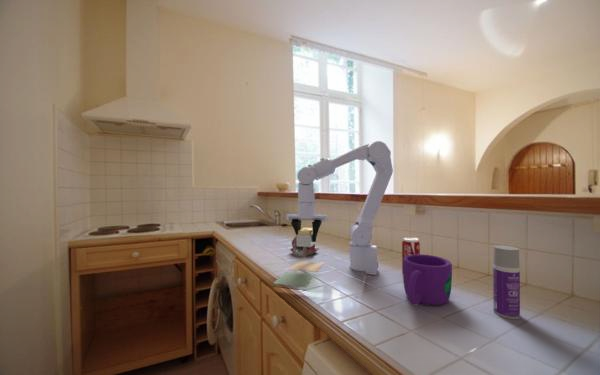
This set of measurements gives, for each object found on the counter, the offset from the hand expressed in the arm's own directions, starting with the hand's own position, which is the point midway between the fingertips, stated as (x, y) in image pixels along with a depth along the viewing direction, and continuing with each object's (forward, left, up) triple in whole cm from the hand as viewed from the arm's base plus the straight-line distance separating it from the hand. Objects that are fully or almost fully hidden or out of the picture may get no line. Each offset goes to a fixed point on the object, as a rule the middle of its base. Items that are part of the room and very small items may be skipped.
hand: (306, 241), depth 90 cm
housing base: (0, 0, -1) cm, 1 cm away
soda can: (-34, -3, -10) cm, 36 cm away
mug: (-35, +16, -10) cm, 40 cm away
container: (-52, +17, -10) cm, 56 cm away
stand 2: (0, +13, -10) cm, 16 cm away
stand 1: (0, 0, -10) cm, 10 cm away
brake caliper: (+6, -16, -10) cm, 20 cm away
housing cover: (0, 0, +3) cm, 3 cm away
